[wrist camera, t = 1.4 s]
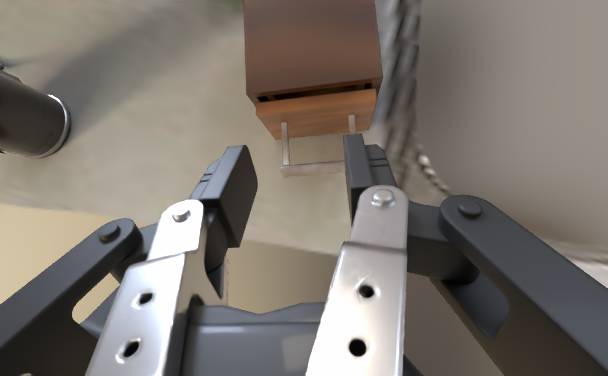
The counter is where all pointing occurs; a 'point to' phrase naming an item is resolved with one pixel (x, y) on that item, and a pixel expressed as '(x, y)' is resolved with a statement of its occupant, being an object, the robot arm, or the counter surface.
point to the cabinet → (310, 46)
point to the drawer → (316, 120)
